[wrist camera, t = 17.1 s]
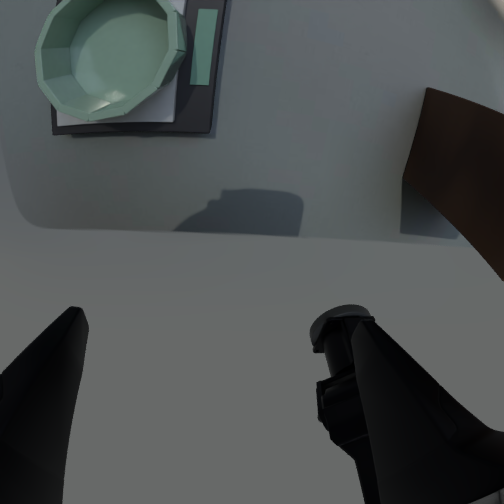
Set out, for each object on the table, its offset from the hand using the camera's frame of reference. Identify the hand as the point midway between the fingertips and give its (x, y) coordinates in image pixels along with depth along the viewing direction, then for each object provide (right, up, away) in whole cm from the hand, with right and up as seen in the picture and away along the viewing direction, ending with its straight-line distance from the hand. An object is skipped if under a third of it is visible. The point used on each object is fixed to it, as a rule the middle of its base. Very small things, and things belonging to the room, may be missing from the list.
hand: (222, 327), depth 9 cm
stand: (+16, +11, +10) cm, 22 cm away
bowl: (-6, +13, +3) cm, 14 cm away
